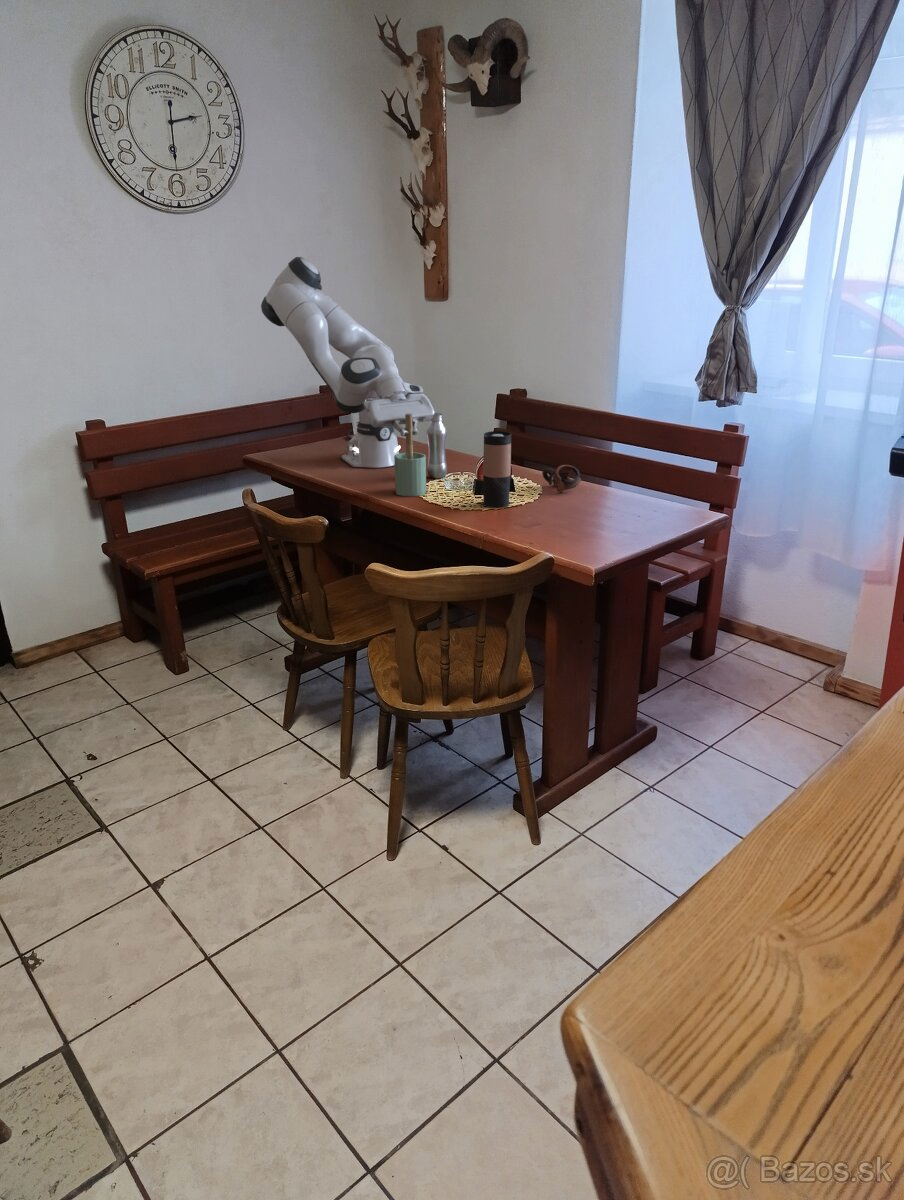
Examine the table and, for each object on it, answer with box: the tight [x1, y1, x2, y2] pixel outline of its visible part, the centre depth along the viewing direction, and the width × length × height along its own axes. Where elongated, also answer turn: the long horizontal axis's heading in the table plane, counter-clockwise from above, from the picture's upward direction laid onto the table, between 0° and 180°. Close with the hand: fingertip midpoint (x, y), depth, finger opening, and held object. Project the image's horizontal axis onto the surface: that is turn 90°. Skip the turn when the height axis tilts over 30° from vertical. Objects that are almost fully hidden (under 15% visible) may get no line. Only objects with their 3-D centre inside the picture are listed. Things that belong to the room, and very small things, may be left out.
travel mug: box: [482, 430, 512, 509], centre depth 226 cm, size 8×8×20 cm
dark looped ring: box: [541, 464, 582, 494], centre depth 244 cm, size 12×10×8 cm
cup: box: [393, 451, 427, 497], centre depth 240 cm, size 9×9×11 cm
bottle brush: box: [404, 414, 414, 459], centre depth 238 cm, size 5×5×22 cm
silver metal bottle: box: [426, 412, 448, 479], centre depth 255 cm, size 6×7×20 cm
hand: (410, 434), depth 235 cm, fingers closed on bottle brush
